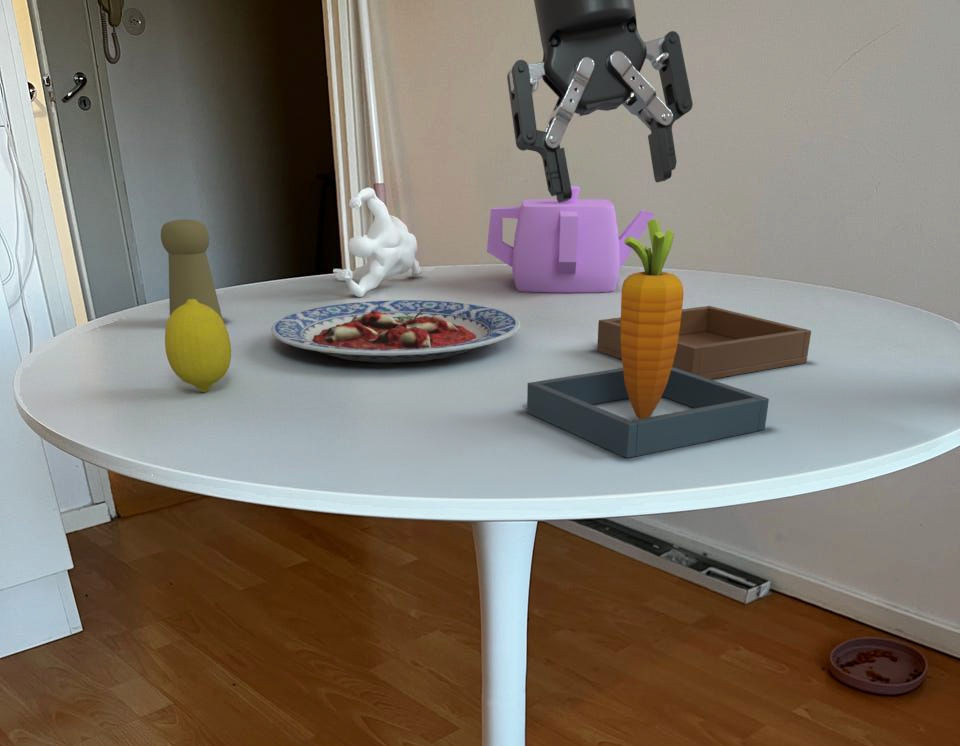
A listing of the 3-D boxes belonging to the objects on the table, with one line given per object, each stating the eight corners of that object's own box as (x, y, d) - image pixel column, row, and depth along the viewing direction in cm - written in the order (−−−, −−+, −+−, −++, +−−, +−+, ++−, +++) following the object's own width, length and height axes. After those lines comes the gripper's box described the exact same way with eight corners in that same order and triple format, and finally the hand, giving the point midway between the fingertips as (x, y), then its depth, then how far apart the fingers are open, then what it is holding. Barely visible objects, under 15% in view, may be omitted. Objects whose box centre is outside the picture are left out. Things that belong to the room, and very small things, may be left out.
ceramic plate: (453, 387, 91) (452, 353, 89) (221, 359, 100) (217, 329, 99) (556, 330, 111) (556, 302, 110) (355, 312, 121) (353, 286, 119)
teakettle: (476, 285, 137) (476, 186, 131) (560, 270, 147) (563, 178, 141) (570, 301, 126) (574, 194, 120) (653, 285, 137) (661, 185, 131)
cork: (185, 330, 112) (170, 225, 107) (160, 322, 116) (144, 220, 111) (233, 323, 116) (221, 220, 110) (207, 315, 120) (194, 215, 114)
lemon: (220, 380, 93) (209, 290, 89) (246, 393, 89) (235, 300, 85) (162, 390, 90) (148, 297, 86) (186, 404, 86) (172, 307, 82)
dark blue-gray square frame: (655, 390, 89) (658, 362, 88) (765, 429, 79) (769, 398, 78) (526, 412, 83) (527, 382, 82) (626, 458, 73) (629, 424, 72)
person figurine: (339, 194, 138) (352, 179, 121) (429, 214, 141) (454, 201, 124) (326, 293, 141) (337, 291, 125) (414, 310, 145) (437, 310, 128)
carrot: (661, 433, 78) (678, 226, 71) (602, 424, 80) (613, 223, 73) (682, 417, 82) (700, 219, 75) (625, 409, 84) (638, 216, 77)
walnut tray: (706, 335, 109) (709, 305, 108) (806, 362, 98) (811, 330, 96) (596, 351, 103) (598, 319, 101) (691, 382, 92) (694, 348, 90)
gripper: (499, -36, 73) (543, 199, 78) (682, -69, 75) (714, 163, 79) (480, 2, 80) (521, 215, 85) (648, -29, 82) (679, 182, 86)
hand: (615, 190), depth 82 cm, fingers open, 8 cm apart
